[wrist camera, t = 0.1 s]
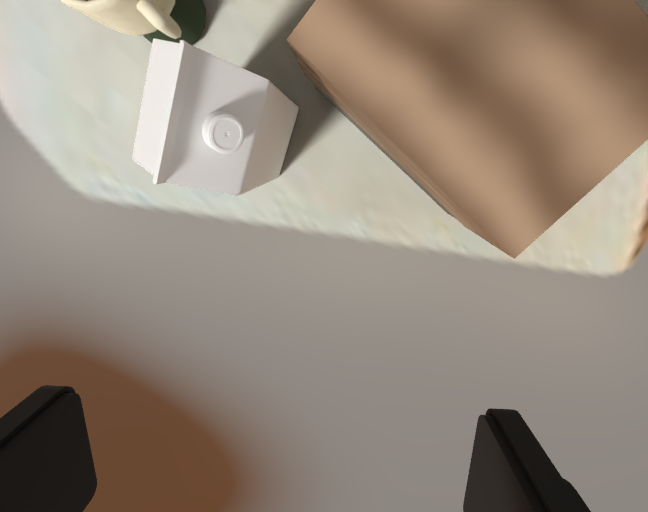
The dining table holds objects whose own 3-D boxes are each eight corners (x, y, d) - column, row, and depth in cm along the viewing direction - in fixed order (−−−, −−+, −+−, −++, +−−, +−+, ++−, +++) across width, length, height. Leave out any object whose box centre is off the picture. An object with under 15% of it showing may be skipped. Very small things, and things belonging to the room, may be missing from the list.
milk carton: (212, 154, 37) (88, 161, 19) (230, 82, 35) (109, 13, 17) (279, 177, 38) (218, 206, 19) (299, 107, 36) (254, 65, 17)
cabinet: (414, -54, 31) (467, -204, 18) (564, 110, 34) (705, 87, 21) (308, 81, 35) (286, 39, 21) (453, 219, 38) (514, 258, 24)
